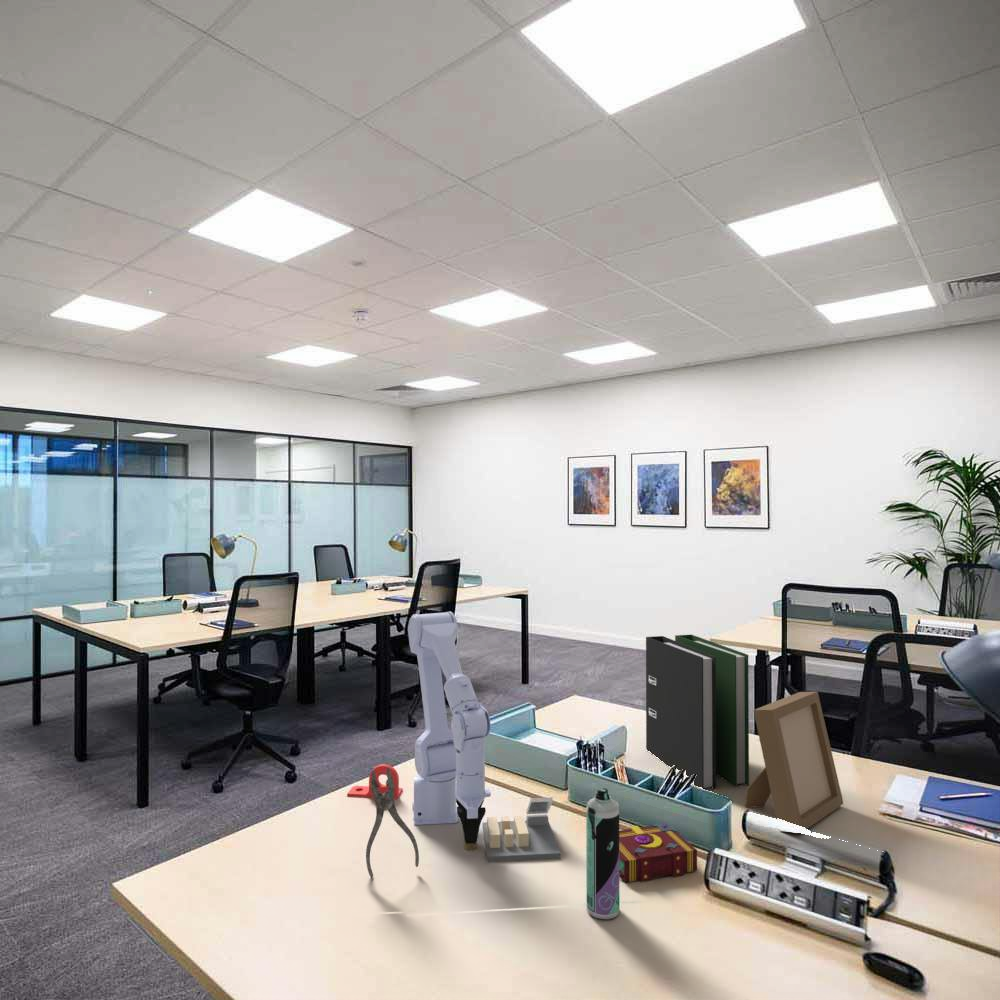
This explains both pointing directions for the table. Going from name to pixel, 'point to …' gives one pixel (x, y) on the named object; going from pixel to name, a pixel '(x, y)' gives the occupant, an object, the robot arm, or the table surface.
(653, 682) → the binder
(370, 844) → the pliers
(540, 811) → the grey flat plate
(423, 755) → the robot arm
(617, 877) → the spray can
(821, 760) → the photo frame
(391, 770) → the bracket
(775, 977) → the table surface
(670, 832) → the decorative book
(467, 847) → the pin
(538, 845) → the board
